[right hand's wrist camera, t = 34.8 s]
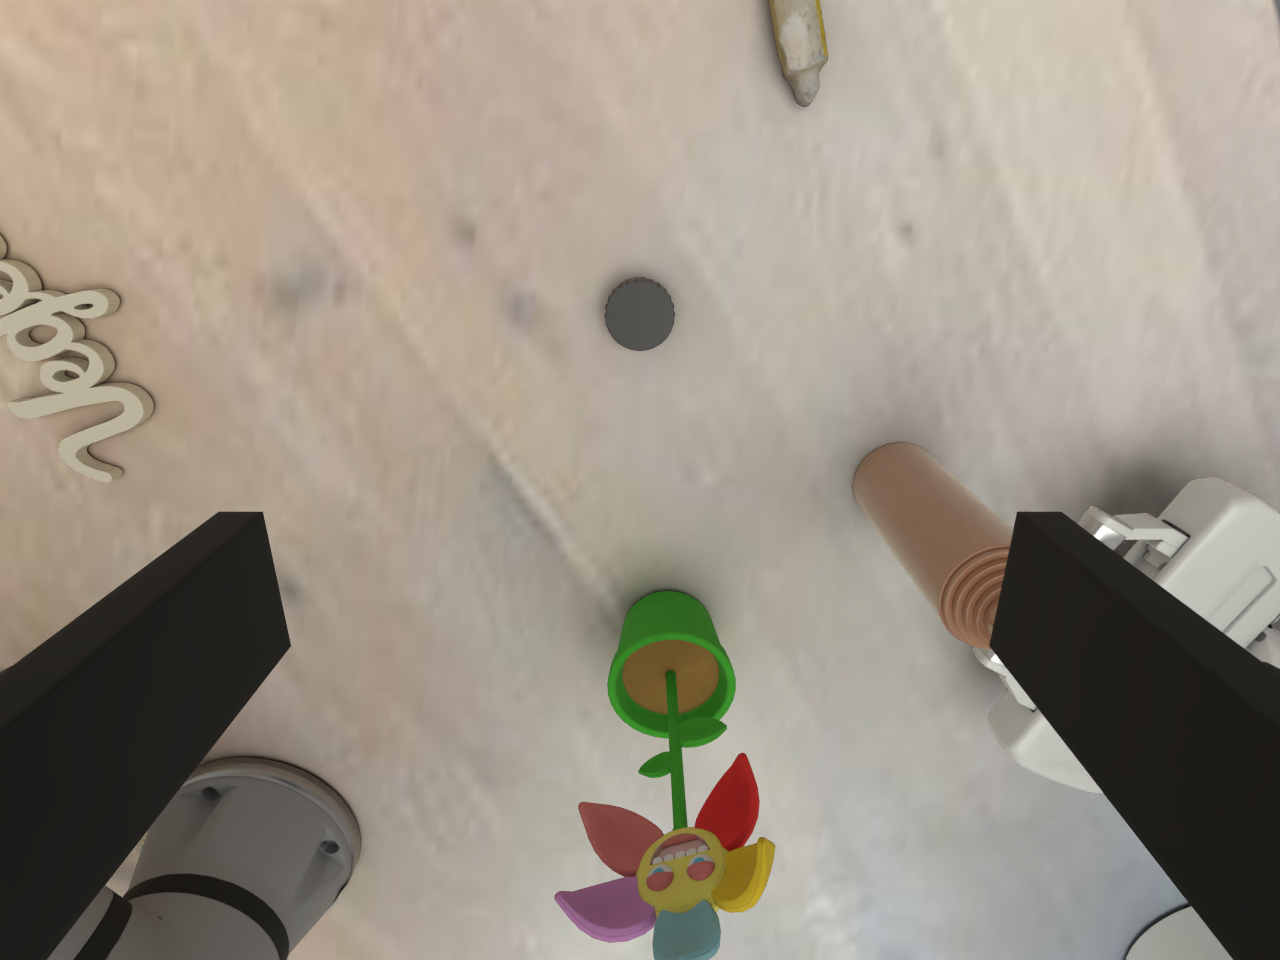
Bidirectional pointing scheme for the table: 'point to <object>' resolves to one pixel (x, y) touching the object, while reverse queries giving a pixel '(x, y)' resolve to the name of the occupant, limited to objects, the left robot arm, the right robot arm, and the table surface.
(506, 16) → the table surface
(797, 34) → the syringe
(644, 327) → the cap
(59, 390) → the decorative sign
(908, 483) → the bottle
